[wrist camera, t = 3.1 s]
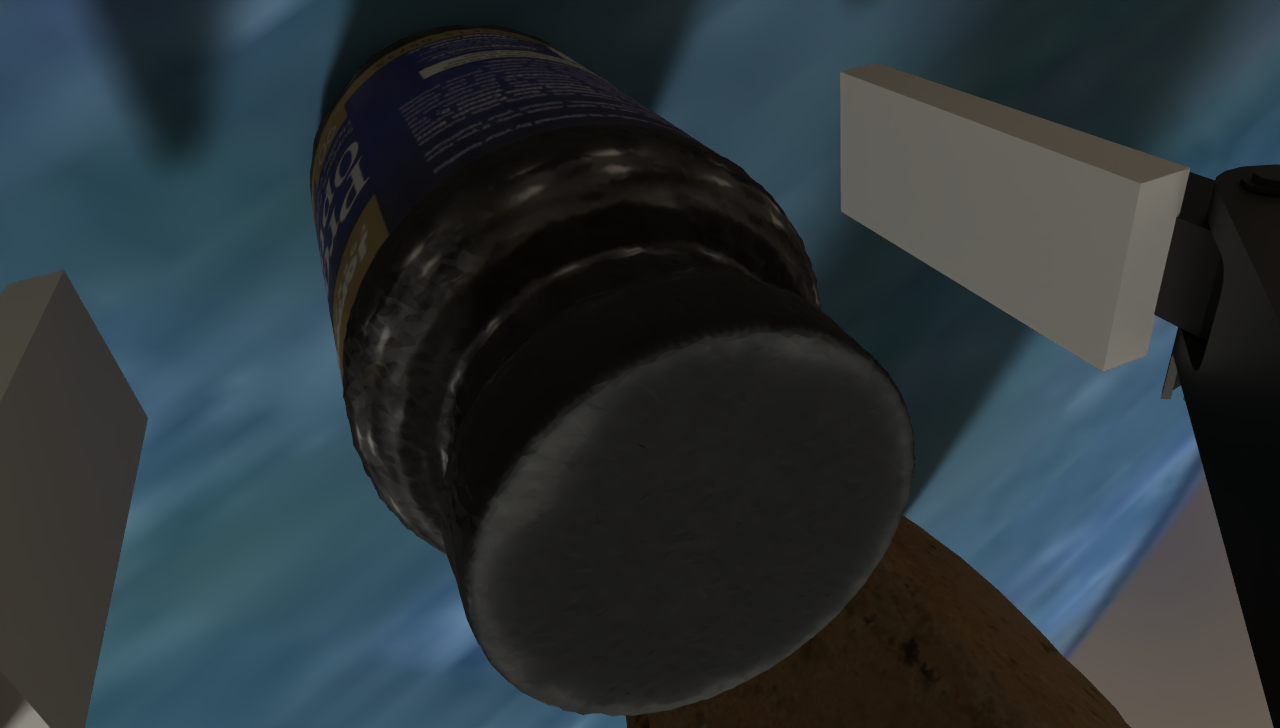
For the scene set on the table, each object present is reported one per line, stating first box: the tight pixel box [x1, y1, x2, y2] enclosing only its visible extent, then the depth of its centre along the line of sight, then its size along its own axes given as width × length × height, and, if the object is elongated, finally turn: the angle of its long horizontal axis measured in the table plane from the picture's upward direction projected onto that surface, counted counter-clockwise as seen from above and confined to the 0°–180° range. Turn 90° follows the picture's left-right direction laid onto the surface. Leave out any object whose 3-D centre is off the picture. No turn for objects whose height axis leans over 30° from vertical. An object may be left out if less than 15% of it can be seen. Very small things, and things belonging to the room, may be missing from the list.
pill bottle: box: [310, 25, 915, 716], centre depth 12 cm, size 6×6×11 cm
